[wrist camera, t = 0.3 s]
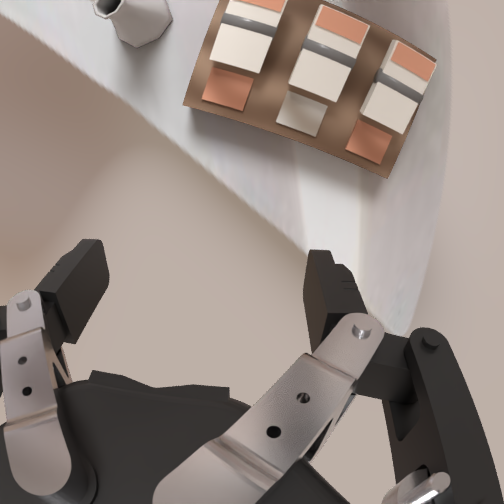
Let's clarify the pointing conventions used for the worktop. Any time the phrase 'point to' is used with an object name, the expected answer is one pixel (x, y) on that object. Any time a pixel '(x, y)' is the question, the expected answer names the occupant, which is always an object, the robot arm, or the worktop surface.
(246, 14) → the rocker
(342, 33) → the rocker
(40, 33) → the worktop surface
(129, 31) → the flask
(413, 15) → the worktop surface
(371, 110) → the rocker
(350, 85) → the switch unit
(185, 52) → the worktop surface
